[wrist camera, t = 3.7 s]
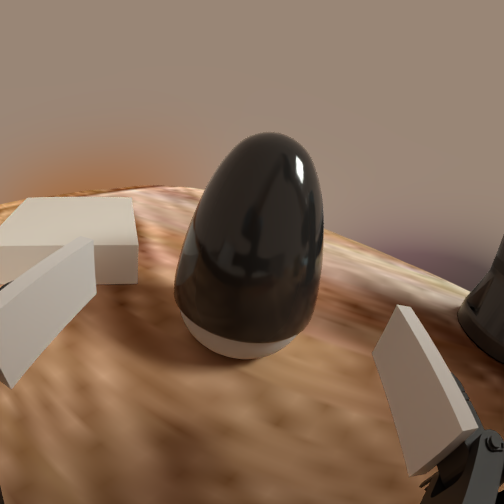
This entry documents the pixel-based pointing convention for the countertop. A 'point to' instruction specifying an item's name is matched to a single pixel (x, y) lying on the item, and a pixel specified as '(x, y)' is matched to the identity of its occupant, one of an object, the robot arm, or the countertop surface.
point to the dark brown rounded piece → (253, 250)
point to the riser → (71, 235)
